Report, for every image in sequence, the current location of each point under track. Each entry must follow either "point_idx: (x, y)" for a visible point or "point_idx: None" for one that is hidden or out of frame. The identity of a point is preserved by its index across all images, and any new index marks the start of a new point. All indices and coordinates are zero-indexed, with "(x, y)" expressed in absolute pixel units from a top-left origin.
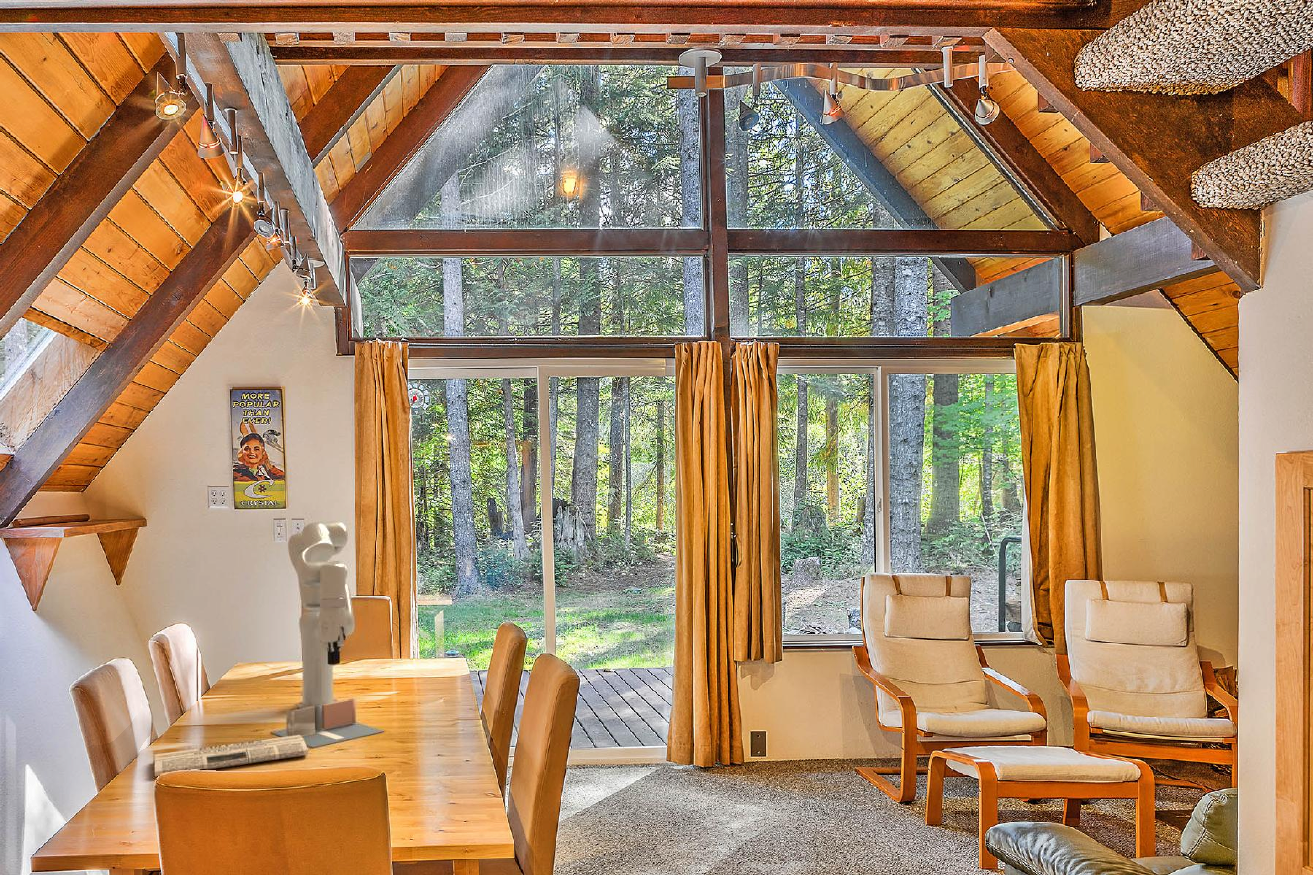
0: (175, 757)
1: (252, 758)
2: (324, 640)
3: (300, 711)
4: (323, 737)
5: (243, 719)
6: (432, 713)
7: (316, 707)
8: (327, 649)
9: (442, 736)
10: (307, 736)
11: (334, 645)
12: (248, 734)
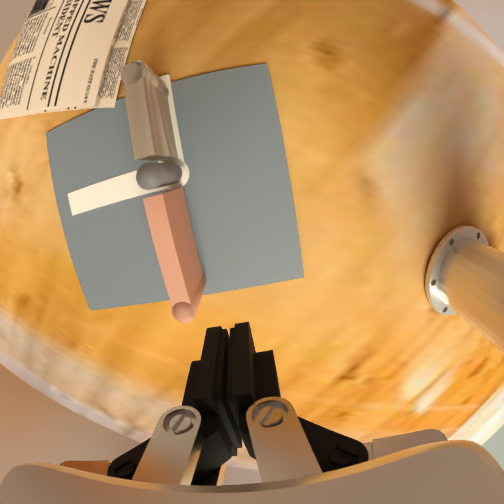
0: None
1: (23, 27)
2: (215, 496)
3: (127, 105)
4: (102, 170)
5: (451, 86)
6: None
7: (140, 166)
8: (279, 410)
9: (36, 359)
10: None
11: (131, 466)
12: (293, 24)
